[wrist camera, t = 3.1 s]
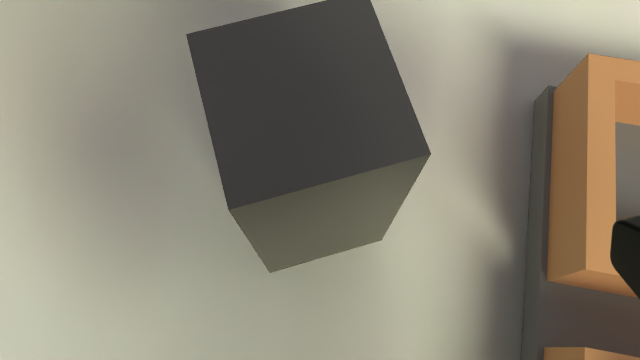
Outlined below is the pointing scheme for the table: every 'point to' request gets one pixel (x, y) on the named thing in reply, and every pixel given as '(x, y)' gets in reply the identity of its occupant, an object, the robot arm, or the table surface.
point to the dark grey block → (308, 128)
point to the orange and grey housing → (582, 215)
